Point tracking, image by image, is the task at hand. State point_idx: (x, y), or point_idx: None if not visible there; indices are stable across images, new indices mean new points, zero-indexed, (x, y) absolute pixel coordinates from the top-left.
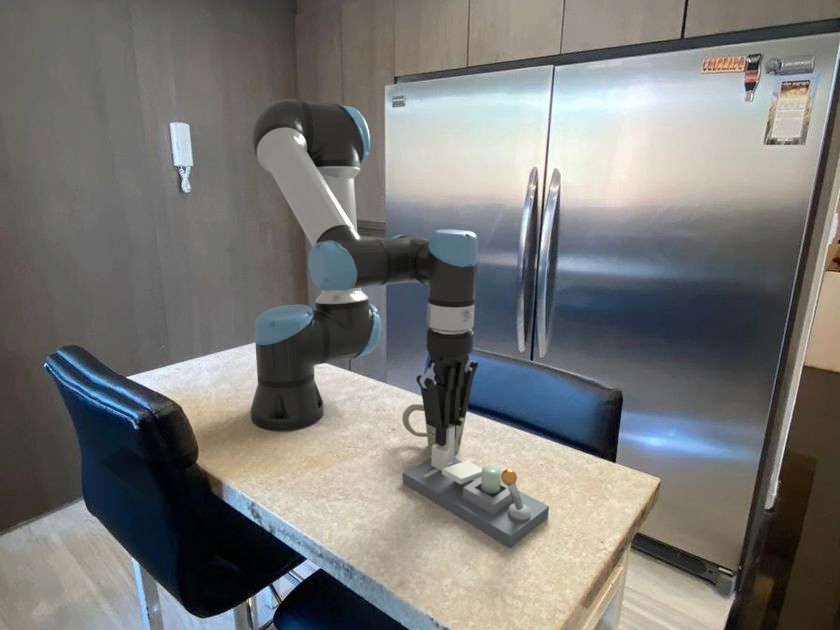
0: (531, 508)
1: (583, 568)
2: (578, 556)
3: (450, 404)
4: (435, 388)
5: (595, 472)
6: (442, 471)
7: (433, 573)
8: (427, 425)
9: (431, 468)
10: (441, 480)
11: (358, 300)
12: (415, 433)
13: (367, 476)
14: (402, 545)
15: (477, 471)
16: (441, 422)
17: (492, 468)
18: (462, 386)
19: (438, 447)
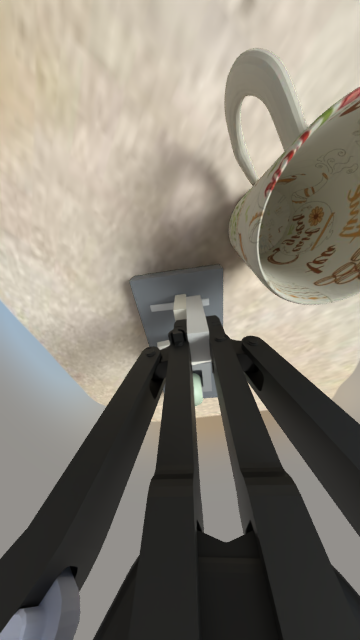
0: (208, 392)
1: None
2: (199, 410)
3: (219, 394)
4: (89, 561)
5: (323, 375)
6: (157, 345)
7: (103, 380)
8: (242, 209)
9: (173, 296)
10: (167, 324)
11: None
12: (237, 154)
13: (89, 224)
14: (91, 353)
15: (199, 361)
16: (164, 383)
17: (195, 397)
18: (312, 453)
19: (180, 319)
